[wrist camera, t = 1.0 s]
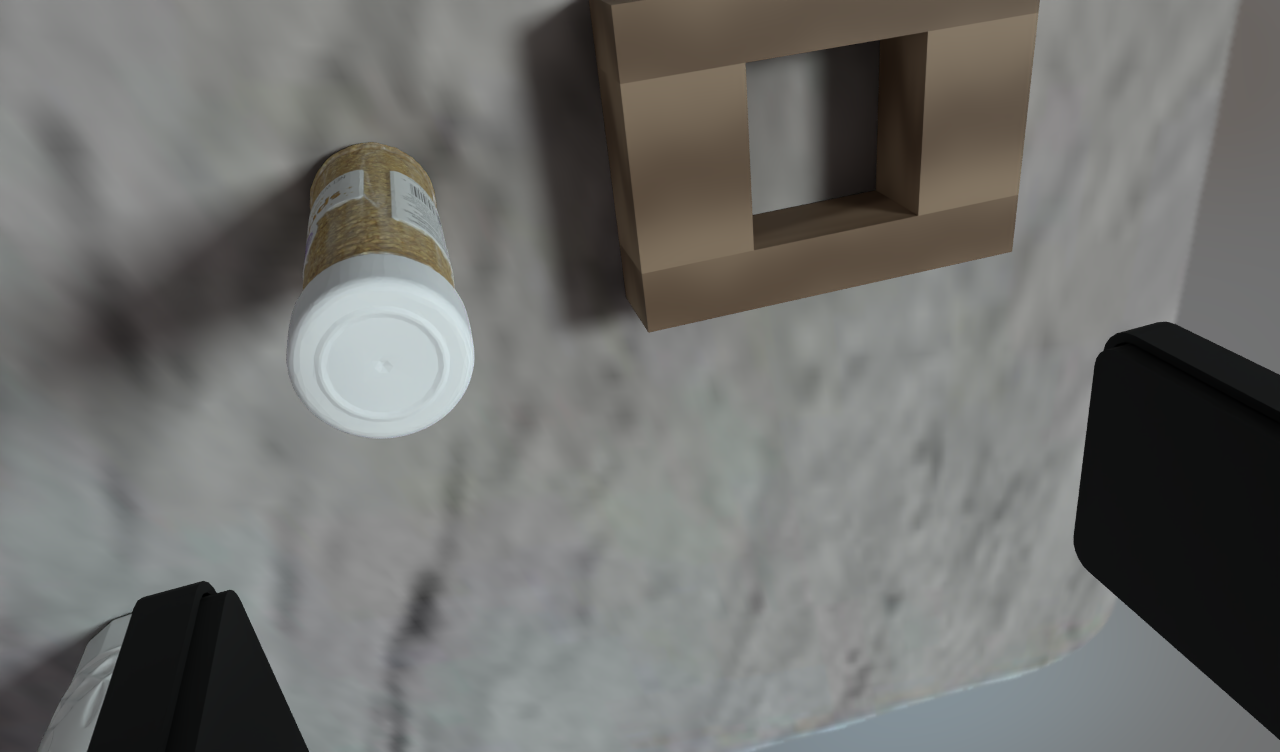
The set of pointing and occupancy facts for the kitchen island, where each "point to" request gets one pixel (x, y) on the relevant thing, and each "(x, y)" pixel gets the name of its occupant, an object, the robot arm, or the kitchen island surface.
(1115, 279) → the kitchen island surface
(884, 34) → the walnut holder
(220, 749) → the robot arm
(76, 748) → the white cup
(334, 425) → the sprinkles bottle
